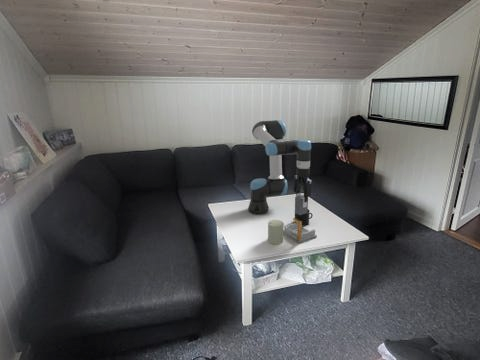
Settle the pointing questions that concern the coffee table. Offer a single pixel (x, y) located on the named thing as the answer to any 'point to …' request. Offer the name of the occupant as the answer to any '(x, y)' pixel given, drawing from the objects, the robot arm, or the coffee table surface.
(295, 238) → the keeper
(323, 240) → the coffee table surface
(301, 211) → the dark gray box
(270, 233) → the can
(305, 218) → the mug
